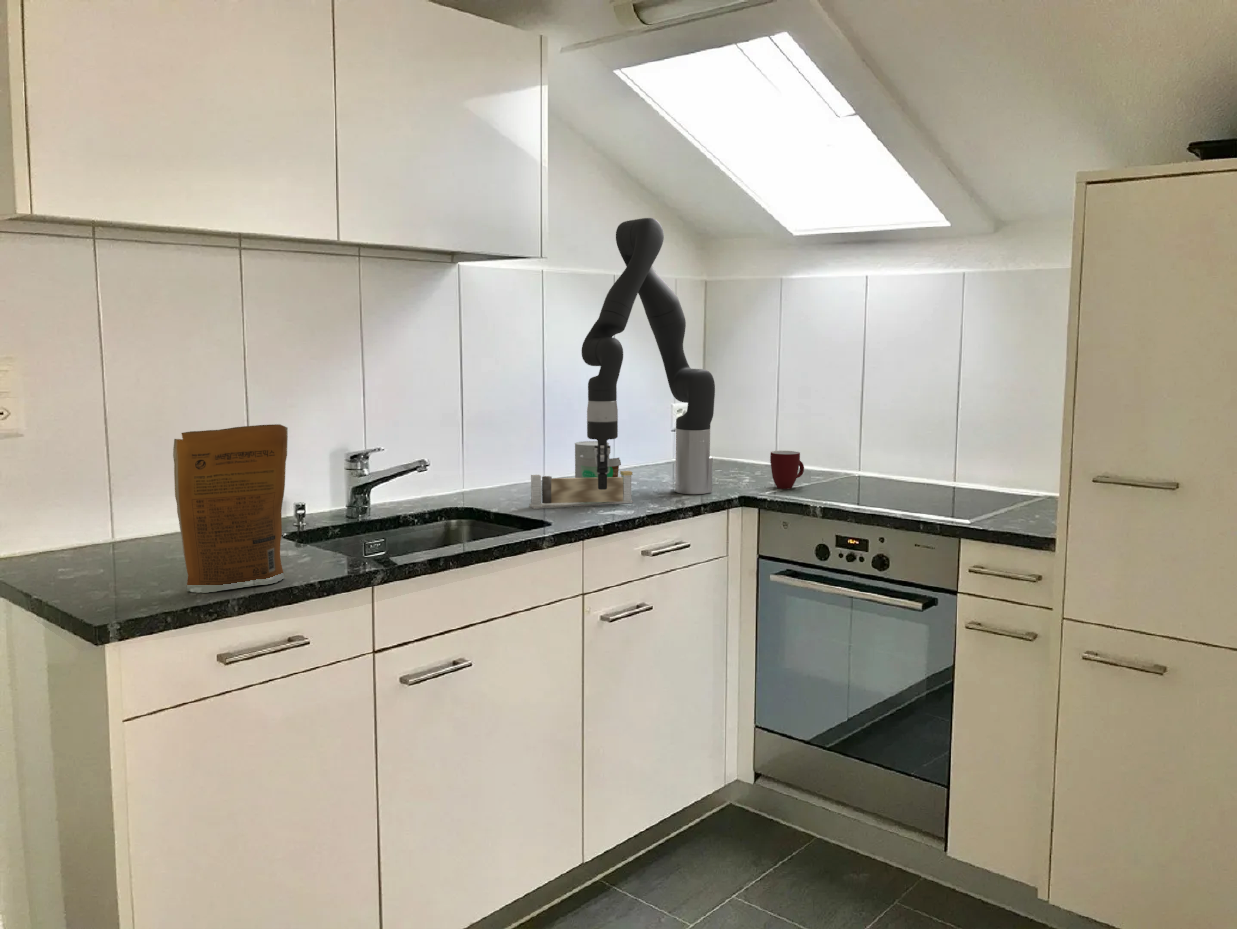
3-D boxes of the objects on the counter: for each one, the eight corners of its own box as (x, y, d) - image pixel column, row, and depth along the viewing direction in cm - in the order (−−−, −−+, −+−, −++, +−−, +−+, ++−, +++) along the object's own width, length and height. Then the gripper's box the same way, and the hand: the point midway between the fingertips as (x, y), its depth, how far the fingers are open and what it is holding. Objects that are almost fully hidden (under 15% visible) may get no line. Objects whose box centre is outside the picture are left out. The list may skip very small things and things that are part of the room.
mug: (789, 484, 284) (790, 449, 283) (811, 487, 278) (812, 452, 277) (763, 487, 278) (764, 452, 276) (785, 491, 272) (785, 455, 270)
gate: (542, 503, 247) (542, 477, 246) (541, 501, 249) (541, 476, 249) (623, 501, 250) (623, 476, 249) (621, 500, 252) (622, 474, 251)
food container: (569, 494, 267) (569, 457, 265) (581, 491, 272) (580, 454, 270) (610, 498, 261) (610, 460, 259) (621, 494, 266) (621, 457, 265)
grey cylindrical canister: (577, 484, 284) (577, 441, 282) (610, 484, 283) (610, 441, 281) (572, 489, 274) (572, 445, 273) (607, 490, 273) (607, 445, 272)
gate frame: (533, 509, 245) (533, 476, 244) (529, 506, 249) (529, 474, 248) (633, 502, 254) (633, 471, 253) (627, 500, 258) (628, 469, 257)
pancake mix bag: (299, 583, 175) (292, 424, 171) (183, 600, 165) (172, 431, 161) (289, 575, 181) (282, 421, 177) (175, 590, 170) (165, 427, 166)
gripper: (617, 421, 238) (617, 493, 241) (617, 417, 252) (617, 485, 254) (586, 421, 238) (586, 493, 241) (587, 417, 251) (588, 485, 254)
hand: (602, 489), depth 247 cm, fingers closed
